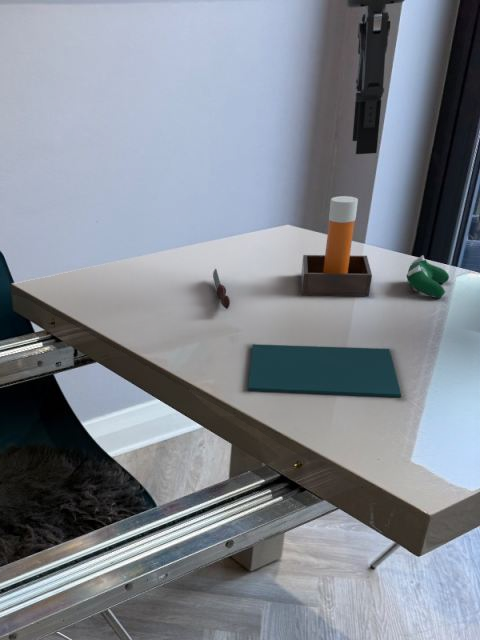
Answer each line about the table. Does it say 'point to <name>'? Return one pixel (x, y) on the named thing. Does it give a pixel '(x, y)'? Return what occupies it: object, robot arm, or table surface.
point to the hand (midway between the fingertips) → (363, 146)
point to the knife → (221, 291)
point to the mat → (323, 370)
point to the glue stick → (340, 234)
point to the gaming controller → (427, 278)
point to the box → (335, 277)
